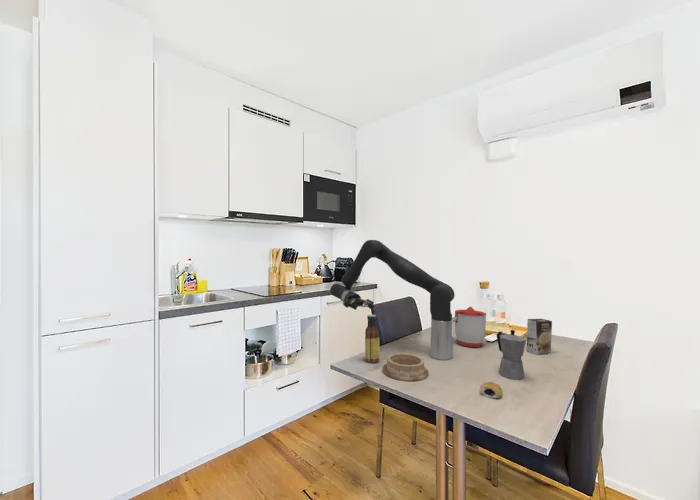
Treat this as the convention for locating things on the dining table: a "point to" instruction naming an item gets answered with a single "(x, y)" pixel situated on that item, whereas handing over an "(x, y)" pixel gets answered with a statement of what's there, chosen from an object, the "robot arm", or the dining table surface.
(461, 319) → the citrus juicer
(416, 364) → the bottle holder
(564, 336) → the dining table surface
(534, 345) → the coffee box
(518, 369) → the coffeepot
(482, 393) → the pastry
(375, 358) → the sauce bottle
